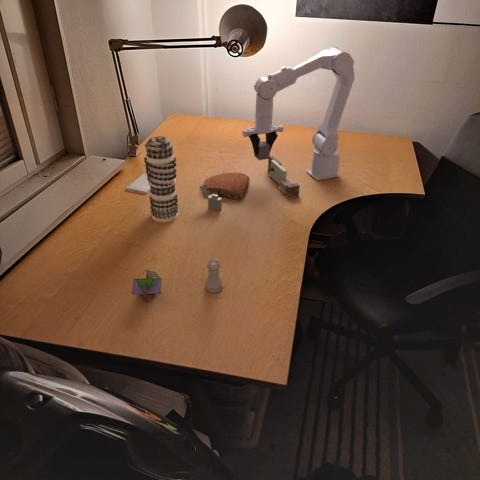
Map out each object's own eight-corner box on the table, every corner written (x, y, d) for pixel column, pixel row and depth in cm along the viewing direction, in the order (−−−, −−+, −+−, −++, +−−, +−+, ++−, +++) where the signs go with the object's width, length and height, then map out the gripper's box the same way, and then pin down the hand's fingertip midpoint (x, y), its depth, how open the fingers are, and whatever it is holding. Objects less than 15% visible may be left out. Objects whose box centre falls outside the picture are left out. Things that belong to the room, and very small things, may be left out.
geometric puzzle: (160, 303, 104) (159, 269, 105) (130, 304, 104) (129, 270, 104) (162, 301, 111) (162, 268, 112) (134, 302, 111) (134, 269, 111)
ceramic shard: (211, 164, 162) (251, 174, 161) (208, 180, 165) (248, 190, 164) (201, 176, 149) (244, 187, 148) (198, 194, 152) (240, 205, 151)
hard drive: (143, 173, 164) (125, 187, 154) (163, 176, 162) (146, 191, 152) (143, 177, 165) (125, 191, 155) (163, 180, 163) (147, 195, 153)
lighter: (221, 209, 145) (221, 187, 141) (219, 212, 144) (219, 189, 139) (202, 204, 148) (202, 182, 143) (200, 206, 146) (199, 184, 142)
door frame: (271, 170, 171) (272, 155, 167) (299, 195, 154) (301, 179, 151) (260, 171, 169) (261, 157, 166) (288, 197, 153) (289, 182, 149)
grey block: (264, 154, 161) (265, 141, 158) (269, 158, 158) (270, 145, 155) (254, 155, 160) (254, 142, 157) (259, 160, 157) (259, 146, 154)
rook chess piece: (204, 282, 114) (204, 257, 110) (222, 282, 115) (222, 256, 110) (205, 294, 111) (204, 268, 106) (223, 293, 111) (223, 267, 106)
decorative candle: (171, 225, 137) (165, 147, 123) (144, 219, 139) (136, 142, 125) (184, 211, 144) (180, 136, 130) (159, 205, 146) (152, 131, 132)
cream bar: (272, 175, 166) (273, 159, 163) (285, 186, 159) (286, 170, 155) (268, 176, 166) (268, 160, 162) (280, 187, 158) (281, 171, 155)
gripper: (277, 109, 156) (275, 146, 163) (239, 114, 151) (238, 152, 159) (287, 115, 150) (284, 153, 158) (247, 120, 146) (246, 159, 153)
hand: (261, 153), depth 158 cm, fingers closed on grey block, 4 cm apart
